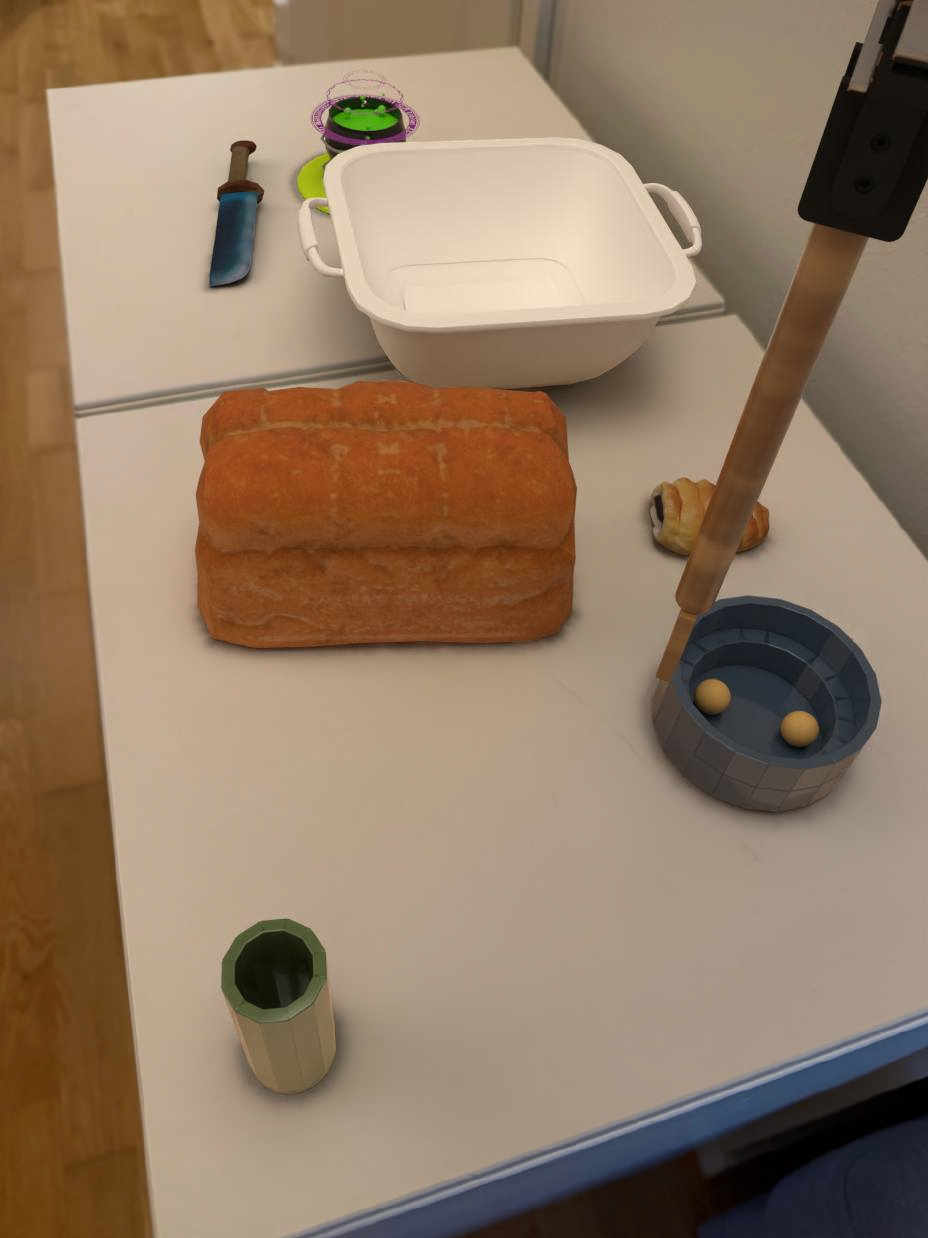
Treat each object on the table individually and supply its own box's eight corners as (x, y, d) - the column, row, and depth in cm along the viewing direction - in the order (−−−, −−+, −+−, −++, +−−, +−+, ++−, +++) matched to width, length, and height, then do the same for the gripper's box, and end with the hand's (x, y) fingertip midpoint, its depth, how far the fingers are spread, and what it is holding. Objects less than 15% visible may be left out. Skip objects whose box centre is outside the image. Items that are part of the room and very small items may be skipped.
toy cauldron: (297, 149, 114) (290, 46, 106) (428, 151, 116) (432, 49, 108) (297, 219, 105) (289, 112, 97) (439, 220, 107) (444, 115, 98)
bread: (577, 648, 72) (615, 496, 60) (197, 656, 69) (159, 500, 58) (552, 509, 81) (581, 353, 69) (213, 512, 78) (183, 350, 66)
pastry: (756, 503, 83) (770, 468, 80) (772, 564, 79) (788, 530, 76) (643, 498, 82) (653, 463, 79) (654, 560, 78) (664, 526, 75)
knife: (251, 267, 95) (199, 273, 95) (259, 294, 98) (208, 299, 98) (265, 127, 109) (220, 132, 109) (272, 154, 111) (228, 159, 111)
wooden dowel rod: (679, 687, 50) (956, 36, 26) (645, 674, 50) (887, 20, 27) (692, 652, 51) (965, 5, 28) (658, 639, 51) (899, -10, 28)
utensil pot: (310, 1109, 52) (294, 1040, 43) (232, 1071, 53) (200, 995, 44) (350, 1025, 55) (344, 943, 45) (276, 990, 56) (255, 903, 46)
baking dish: (619, 249, 106) (644, 128, 96) (713, 426, 88) (755, 301, 79) (292, 267, 100) (282, 139, 90) (325, 461, 83) (317, 330, 73)
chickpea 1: (720, 726, 68) (730, 706, 66) (686, 713, 68) (695, 693, 67) (728, 699, 69) (738, 679, 68) (695, 687, 70) (703, 667, 68)
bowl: (827, 847, 63) (863, 801, 59) (626, 768, 66) (644, 718, 61) (860, 689, 71) (894, 637, 67) (679, 624, 74) (699, 570, 69)
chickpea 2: (808, 759, 67) (820, 739, 65) (772, 745, 67) (783, 726, 65) (814, 731, 68) (826, 711, 66) (779, 718, 69) (791, 698, 67)
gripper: (1655, -884, 12) (953, 385, 26) (1405, -746, 21) (990, 130, 36) (996, -913, 13) (674, 306, 27) (1037, -771, 23) (781, 81, 37)
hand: (854, 203), depth 31 cm, fingers closed on wooden dowel rod, 1 cm apart
